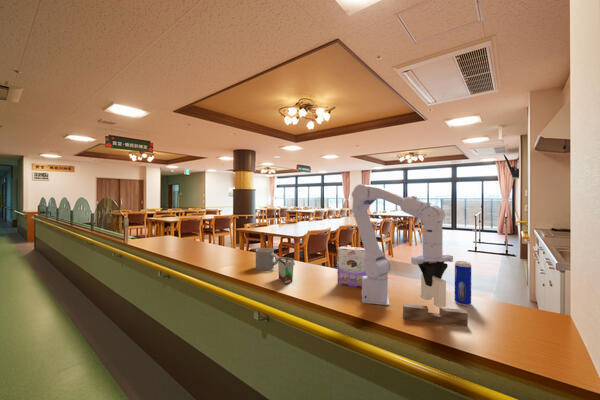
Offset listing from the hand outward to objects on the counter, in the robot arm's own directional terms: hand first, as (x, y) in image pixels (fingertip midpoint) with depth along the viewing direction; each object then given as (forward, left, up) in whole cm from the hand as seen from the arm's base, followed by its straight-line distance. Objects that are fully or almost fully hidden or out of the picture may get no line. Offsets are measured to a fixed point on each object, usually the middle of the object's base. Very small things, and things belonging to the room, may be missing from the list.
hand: (432, 284), depth 85 cm
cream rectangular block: (0, 0, -5) cm, 5 cm away
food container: (-57, +22, -11) cm, 62 cm away
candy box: (-27, +25, -11) cm, 38 cm away
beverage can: (+13, +15, -11) cm, 23 cm away
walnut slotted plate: (0, -3, -10) cm, 11 cm away
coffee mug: (-75, +39, -11) cm, 85 cm away
